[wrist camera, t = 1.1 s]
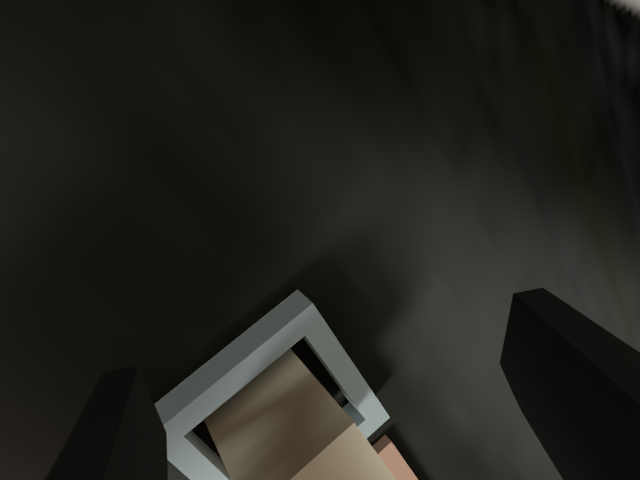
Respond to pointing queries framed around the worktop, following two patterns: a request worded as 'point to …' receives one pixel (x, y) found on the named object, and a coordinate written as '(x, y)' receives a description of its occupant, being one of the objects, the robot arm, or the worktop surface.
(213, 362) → the holder
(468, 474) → the worktop surface
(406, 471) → the mat
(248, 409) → the birch block
